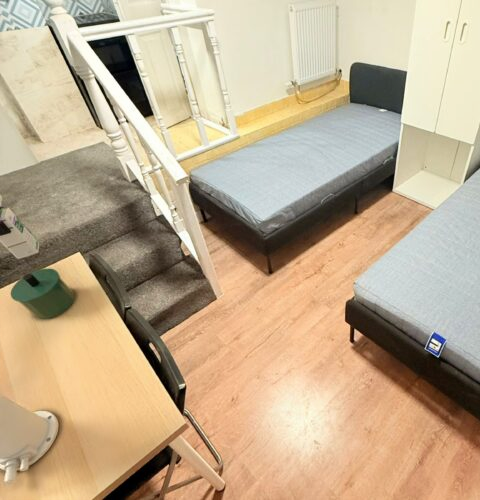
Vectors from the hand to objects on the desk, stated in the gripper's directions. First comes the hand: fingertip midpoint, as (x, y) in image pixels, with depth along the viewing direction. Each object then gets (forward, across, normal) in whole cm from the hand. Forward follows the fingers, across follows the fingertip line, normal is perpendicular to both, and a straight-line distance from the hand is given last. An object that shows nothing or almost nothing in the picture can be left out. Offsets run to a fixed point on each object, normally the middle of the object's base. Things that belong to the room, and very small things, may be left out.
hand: (6, 227), depth 97 cm
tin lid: (+15, -11, 0) cm, 18 cm away
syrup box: (+10, 0, 0) cm, 10 cm away
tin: (+25, -11, 0) cm, 27 cm away
